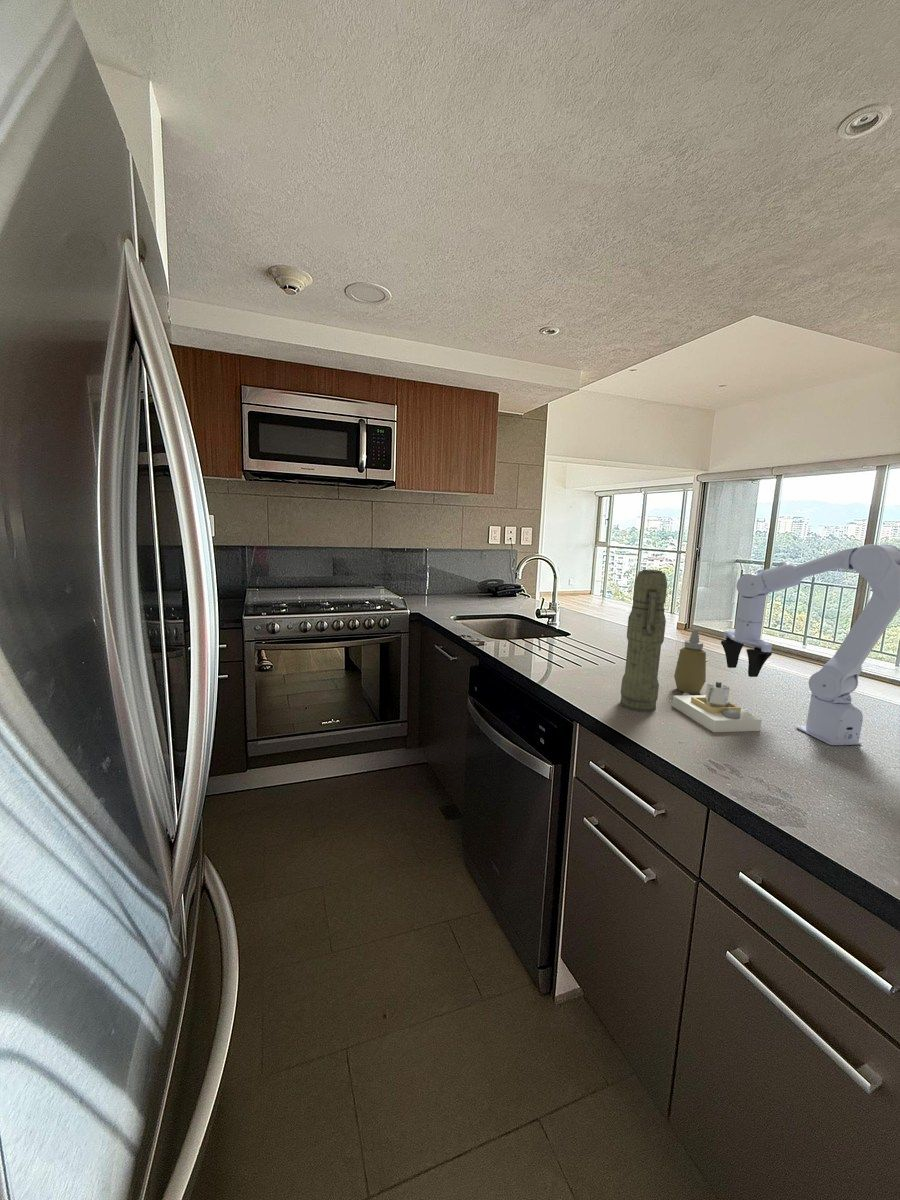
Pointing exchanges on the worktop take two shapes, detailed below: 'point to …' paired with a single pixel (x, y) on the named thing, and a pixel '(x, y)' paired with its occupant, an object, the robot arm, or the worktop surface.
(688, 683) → the squeeze bottle
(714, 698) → the spout can
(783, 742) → the worktop surface
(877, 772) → the worktop surface
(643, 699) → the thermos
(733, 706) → the white holder tray
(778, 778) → the worktop surface
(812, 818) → the worktop surface
